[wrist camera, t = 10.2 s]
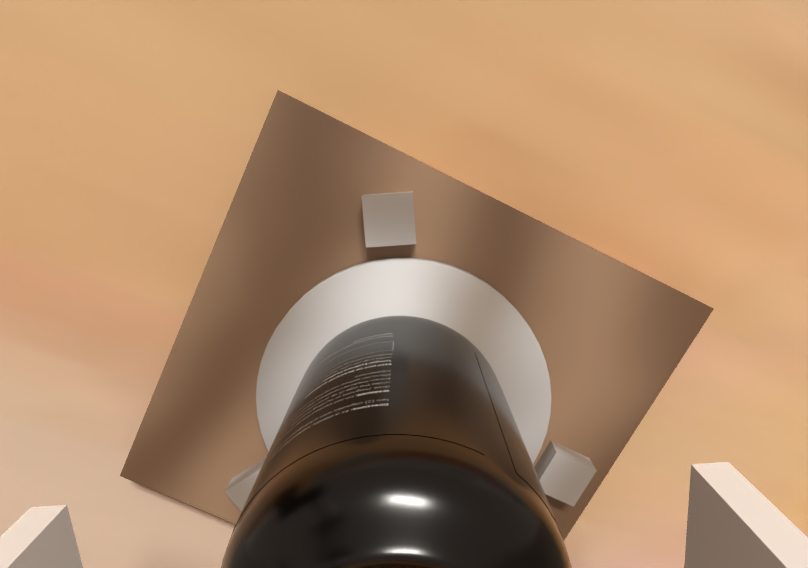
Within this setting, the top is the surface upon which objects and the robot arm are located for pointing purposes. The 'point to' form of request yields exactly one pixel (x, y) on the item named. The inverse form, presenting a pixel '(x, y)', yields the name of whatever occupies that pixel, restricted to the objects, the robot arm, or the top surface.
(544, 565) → the supplement bottle
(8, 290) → the top surface
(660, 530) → the top surface
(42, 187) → the top surface
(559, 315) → the board
